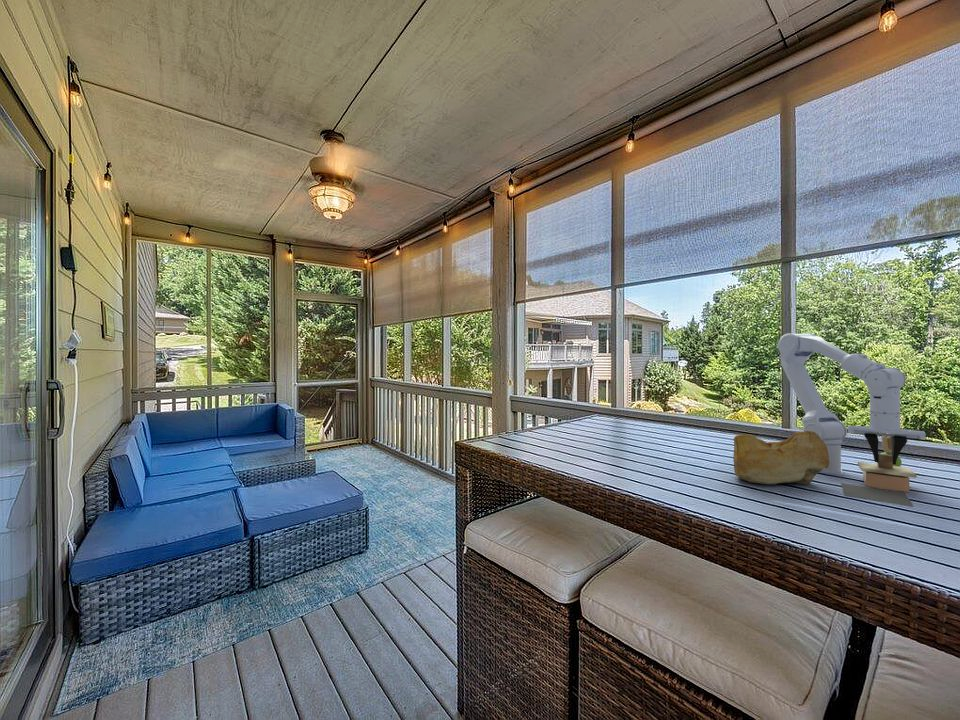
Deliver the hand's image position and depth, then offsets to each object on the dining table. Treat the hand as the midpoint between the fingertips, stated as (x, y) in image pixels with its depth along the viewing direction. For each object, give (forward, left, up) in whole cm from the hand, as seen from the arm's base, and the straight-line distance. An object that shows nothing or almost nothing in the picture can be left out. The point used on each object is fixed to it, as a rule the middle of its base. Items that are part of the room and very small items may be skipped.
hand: (884, 462), depth 107 cm
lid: (0, 0, -2) cm, 2 cm away
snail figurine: (+3, +22, -7) cm, 23 cm away
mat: (-3, -11, -7) cm, 13 cm away
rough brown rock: (-24, -10, -7) cm, 27 cm away
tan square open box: (0, 0, -7) cm, 7 cm away
